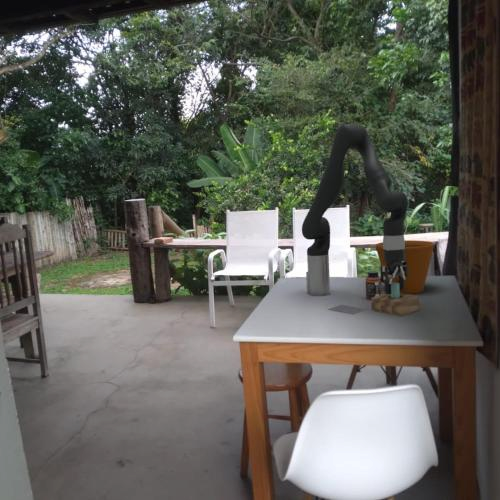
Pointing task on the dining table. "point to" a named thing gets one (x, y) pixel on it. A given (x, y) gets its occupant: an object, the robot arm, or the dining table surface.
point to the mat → (347, 309)
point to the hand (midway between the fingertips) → (394, 291)
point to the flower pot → (413, 264)
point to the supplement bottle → (373, 285)
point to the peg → (395, 290)
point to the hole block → (395, 304)
